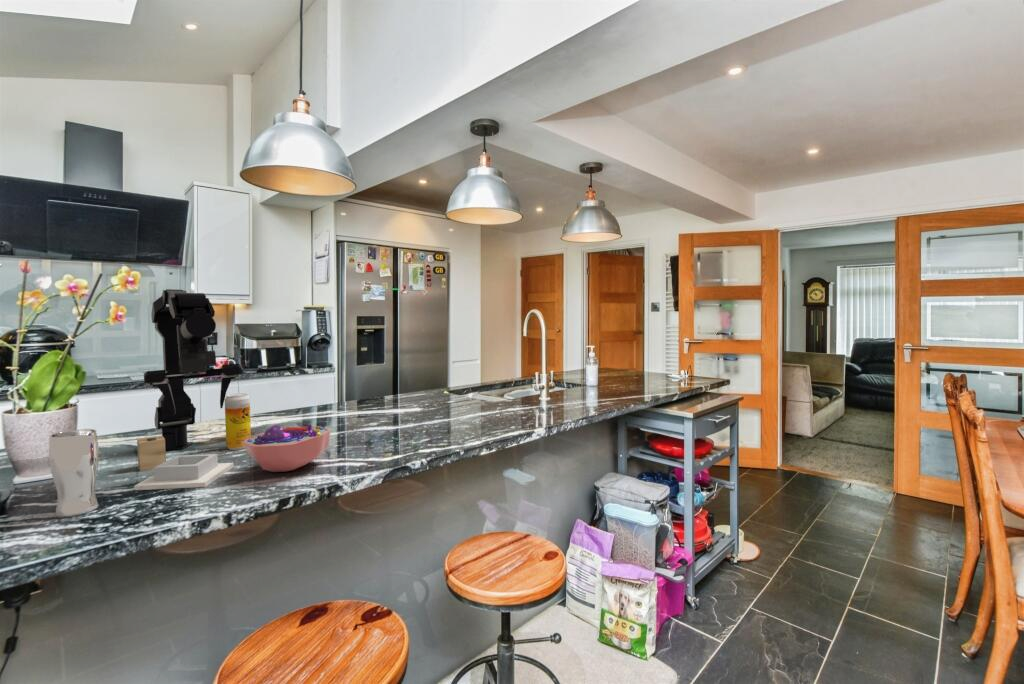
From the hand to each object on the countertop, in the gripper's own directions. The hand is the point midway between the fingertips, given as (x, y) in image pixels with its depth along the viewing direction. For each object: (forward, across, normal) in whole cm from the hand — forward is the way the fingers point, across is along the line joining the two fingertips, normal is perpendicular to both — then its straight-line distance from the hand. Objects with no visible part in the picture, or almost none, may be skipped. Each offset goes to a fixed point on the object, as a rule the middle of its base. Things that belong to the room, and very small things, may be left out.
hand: (198, 411), depth 111 cm
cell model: (+17, +18, -3) cm, 25 cm away
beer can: (+11, +8, +24) cm, 27 cm away
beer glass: (+16, -20, -9) cm, 28 cm away
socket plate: (+15, -3, +2) cm, 15 cm away
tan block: (+12, -11, +16) cm, 23 cm away
